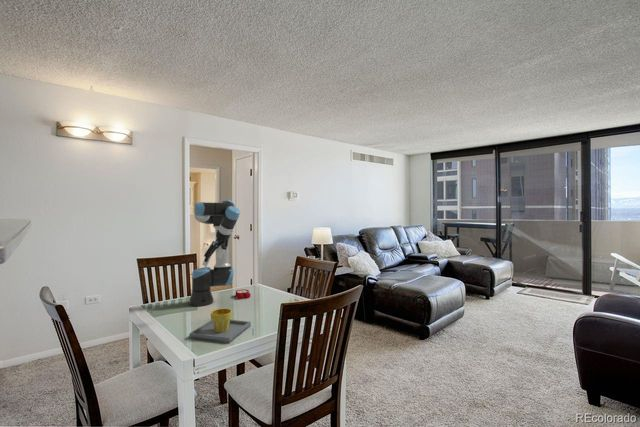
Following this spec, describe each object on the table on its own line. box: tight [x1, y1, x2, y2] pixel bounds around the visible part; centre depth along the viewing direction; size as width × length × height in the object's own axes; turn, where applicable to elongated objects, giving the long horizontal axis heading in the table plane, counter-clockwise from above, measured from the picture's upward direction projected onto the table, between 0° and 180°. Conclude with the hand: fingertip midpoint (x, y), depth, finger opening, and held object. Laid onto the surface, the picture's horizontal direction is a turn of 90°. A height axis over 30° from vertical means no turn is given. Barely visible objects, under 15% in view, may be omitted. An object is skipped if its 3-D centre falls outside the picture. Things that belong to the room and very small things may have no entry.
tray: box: [189, 319, 252, 344], centre depth 164 cm, size 22×22×2 cm
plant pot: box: [210, 307, 233, 333], centre depth 164 cm, size 10×10×10 cm
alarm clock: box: [234, 289, 251, 300], centre depth 227 cm, size 10×6×15 cm
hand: (211, 261), depth 185 cm, fingers open, 13 cm apart
